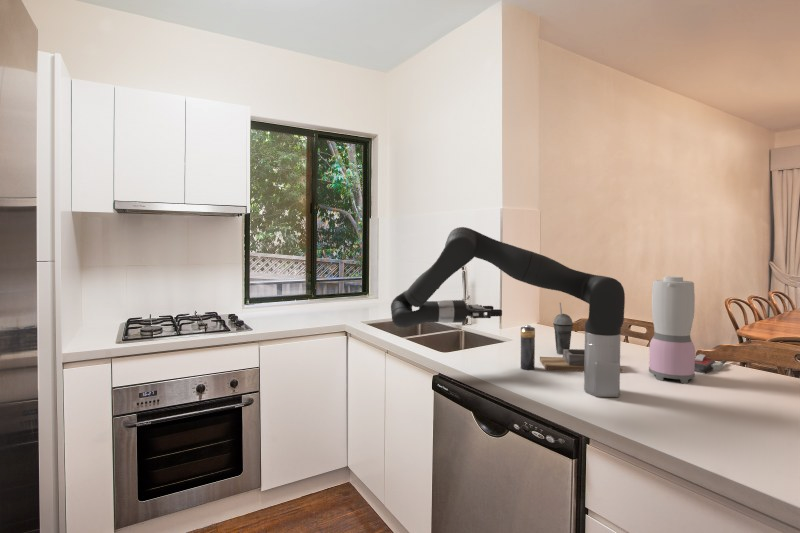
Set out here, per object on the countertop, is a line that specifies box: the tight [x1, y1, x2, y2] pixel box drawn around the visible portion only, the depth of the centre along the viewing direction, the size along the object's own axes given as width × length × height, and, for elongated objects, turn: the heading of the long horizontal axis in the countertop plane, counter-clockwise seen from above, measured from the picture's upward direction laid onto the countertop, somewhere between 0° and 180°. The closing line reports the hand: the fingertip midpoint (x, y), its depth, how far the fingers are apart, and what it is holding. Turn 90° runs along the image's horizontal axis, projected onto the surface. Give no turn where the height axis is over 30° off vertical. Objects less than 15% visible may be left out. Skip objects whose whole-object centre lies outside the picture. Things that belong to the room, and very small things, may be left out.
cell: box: [520, 324, 536, 371], centre depth 144 cm, size 5×5×15 cm
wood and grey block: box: [539, 348, 623, 374], centre depth 145 cm, size 12×24×8 cm, turn 82°
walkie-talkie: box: [694, 353, 727, 374], centre depth 144 cm, size 9×4×20 cm
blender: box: [648, 275, 696, 384], centre depth 134 cm, size 16×12×32 cm
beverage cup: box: [553, 302, 574, 356], centre depth 163 cm, size 7×7×20 cm
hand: (497, 310), depth 142 cm, fingers open, 8 cm apart
